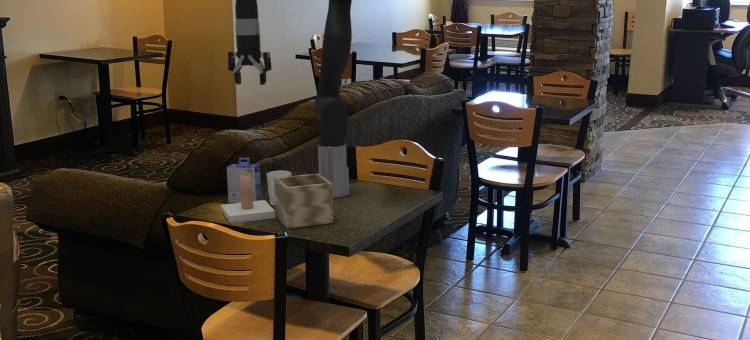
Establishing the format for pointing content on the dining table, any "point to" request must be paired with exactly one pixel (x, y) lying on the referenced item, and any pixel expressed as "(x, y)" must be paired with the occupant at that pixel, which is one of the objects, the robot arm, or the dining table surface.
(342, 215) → the dining table surface
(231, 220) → the plate
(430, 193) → the dining table surface
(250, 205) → the lid
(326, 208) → the box
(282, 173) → the white cup
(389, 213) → the dining table surface
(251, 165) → the ink cartridge box
